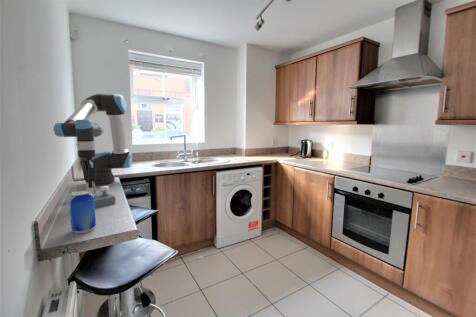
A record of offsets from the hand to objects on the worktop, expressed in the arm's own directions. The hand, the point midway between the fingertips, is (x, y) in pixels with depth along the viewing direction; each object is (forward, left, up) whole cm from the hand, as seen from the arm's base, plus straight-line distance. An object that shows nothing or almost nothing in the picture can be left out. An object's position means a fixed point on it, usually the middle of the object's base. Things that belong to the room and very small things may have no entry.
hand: (90, 193), depth 123 cm
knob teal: (0, 0, -6) cm, 6 cm away
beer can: (+13, +30, -7) cm, 33 cm away
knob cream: (-7, 0, -3) cm, 7 cm away
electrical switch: (-2, -15, -7) cm, 17 cm away
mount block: (-3, 0, -7) cm, 8 cm away
